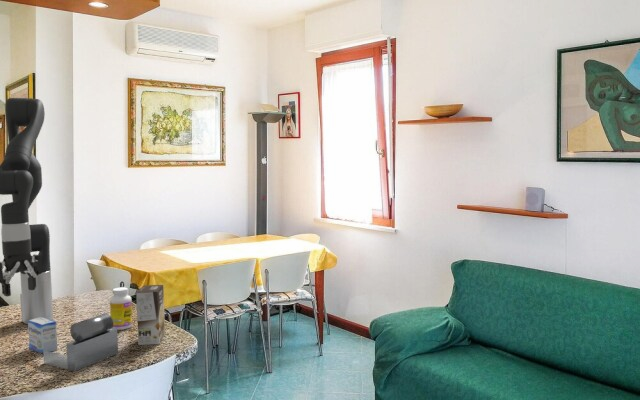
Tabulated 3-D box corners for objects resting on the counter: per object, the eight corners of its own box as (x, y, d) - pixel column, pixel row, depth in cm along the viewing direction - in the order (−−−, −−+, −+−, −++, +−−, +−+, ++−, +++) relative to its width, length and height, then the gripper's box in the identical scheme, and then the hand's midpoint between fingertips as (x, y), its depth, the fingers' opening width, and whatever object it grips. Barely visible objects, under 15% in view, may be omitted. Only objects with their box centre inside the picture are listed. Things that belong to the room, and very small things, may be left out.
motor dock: (44, 363, 152) (41, 320, 151) (87, 346, 165) (85, 307, 163) (78, 371, 146) (75, 327, 145) (120, 353, 158) (118, 312, 157)
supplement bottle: (125, 331, 179) (123, 291, 178) (107, 330, 180) (105, 291, 179) (136, 324, 185) (134, 286, 184) (118, 323, 186) (116, 286, 185)
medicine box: (28, 349, 163) (27, 320, 163) (43, 344, 167) (42, 316, 166) (43, 354, 159) (41, 324, 158) (58, 349, 162) (56, 320, 162)
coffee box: (159, 344, 166) (157, 291, 164) (137, 345, 165) (135, 292, 164) (165, 334, 175) (163, 284, 173) (144, 335, 174) (142, 284, 173)
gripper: (30, 234, 172) (33, 286, 174) (-16, 241, 160) (-12, 297, 161) (46, 235, 169) (49, 288, 170) (1, 242, 156) (4, 300, 158)
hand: (19, 292), depth 166 cm, fingers open, 7 cm apart
